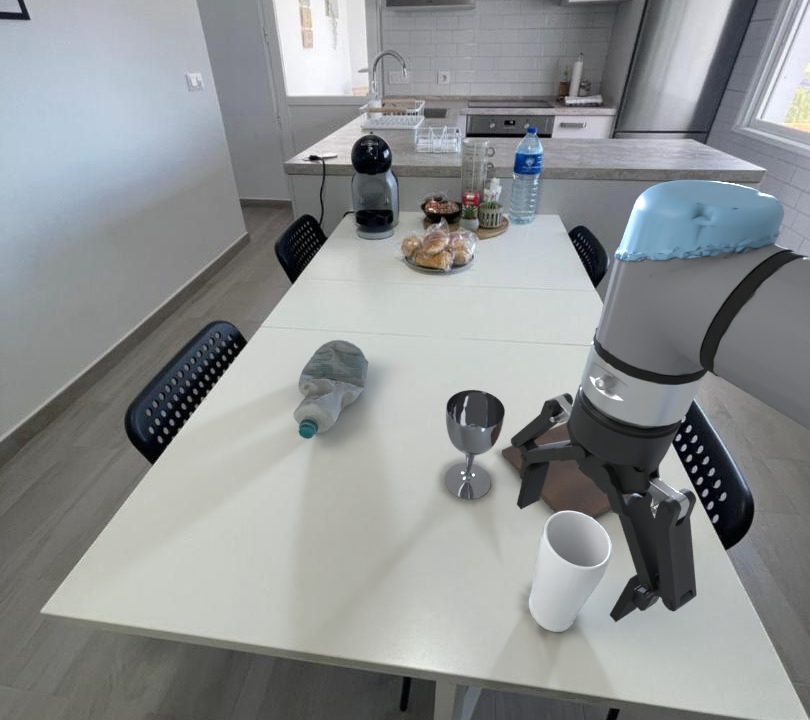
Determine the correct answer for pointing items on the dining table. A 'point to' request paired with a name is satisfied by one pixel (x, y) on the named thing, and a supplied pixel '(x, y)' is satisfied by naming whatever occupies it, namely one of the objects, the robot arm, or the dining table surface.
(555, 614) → the drinking glass
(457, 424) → the silver metal goblet
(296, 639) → the dining table surface
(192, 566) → the dining table surface
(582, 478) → the walnut board
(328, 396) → the crushed plastic bottle
